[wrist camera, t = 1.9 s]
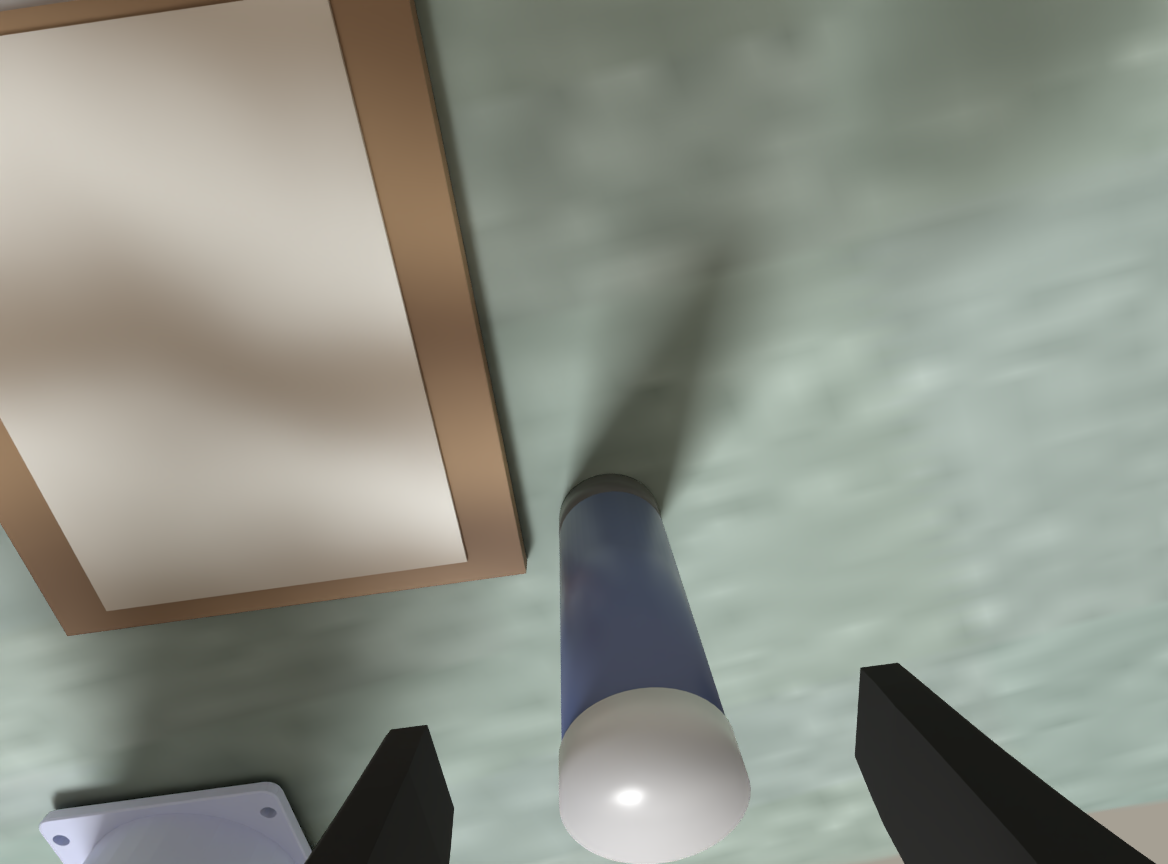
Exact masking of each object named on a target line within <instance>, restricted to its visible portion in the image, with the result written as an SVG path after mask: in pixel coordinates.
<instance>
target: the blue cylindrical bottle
mask: <svg viewBox="0 0 1168 864" xmlns="http://www.w3.org/2000/svg"><path fill="white" fill-rule="evenodd" d="M559 540H560V632H561V724H562V742H561V746H560V749H559V810H560V816H561V819H562V822H563V824H564V826H565V828H566V830H567V831H568V833H569V834H570V835H571V836H572V838H573V839H574V840H576V841H577V842H578V843H579V844H580V845H581V846H583V847H584V848H586V849H587V850H589V851H591V852H593V853H595V854H597V855H599V856H602V857H604V858H607V859H611V860H614V861H618V862H624V863H632V864H657V863H666V862H671V861H676V860H680V859H684V858H687V857H690V856H693V855H695V854H698V853H700V852H702V851H704V850H707V849H708V848H710V847H712V846H713V845H715V844H717V843H718V842H720V841H721V840H722V839H724V838H725V837H726V836H727V835H728V834H729V833H730V832H732V831H733V830H734V828H735V827H736V826H737V825H738V824H739V822H740V821H741V819H742V818H743V816H744V814H745V812H746V810H747V807H748V804H749V800H750V791H751V788H750V781H749V778H748V775H747V771H746V768H745V765H744V762H743V759H742V756H741V753H740V750H739V747H738V744H737V741H736V738H735V735H734V732H733V729H732V726H731V724H730V723H729V721H728V719H727V718H726V717H725V714H724V711H723V708H722V705H721V702H720V699H719V695H718V692H717V689H716V686H715V683H714V680H713V677H712V674H711V671H710V668H709V665H708V661H707V658H706V655H705V652H704V649H703V646H702V643H701V640H700V637H699V634H698V630H697V627H696V624H695V621H694V618H693V615H692V612H691V609H690V606H689V603H688V599H687V596H686V593H685V590H684V587H683V584H682V581H681V578H680V575H679V572H678V568H677V565H676V562H675V559H674V556H673V553H672V550H671V547H670V544H669V541H668V538H667V534H666V531H665V528H664V525H663V522H662V519H661V516H660V513H659V510H658V507H657V504H656V501H655V499H654V497H653V495H652V494H651V492H650V491H649V490H648V489H647V488H646V487H645V486H644V485H643V484H641V483H640V482H638V481H637V480H635V479H632V478H630V477H627V476H624V475H618V474H604V475H599V476H595V477H592V478H589V479H587V480H585V481H583V482H581V483H580V484H578V485H577V486H576V487H575V488H573V489H572V490H571V492H570V493H569V494H568V495H567V497H566V498H565V500H564V502H563V504H562V507H561V510H560V516H559Z"/></svg>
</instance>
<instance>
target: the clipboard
mask: <svg viewBox="0 0 1168 864" xmlns="http://www.w3.org/2000/svg"><path fill="white" fill-rule="evenodd" d="M0 523H1V525H2V527H3V528H4V530H5V532H6V533H7V535H8V537H9V538H10V540H11V542H12V543H13V545H14V547H15V549H16V550H17V552H18V554H19V555H20V557H21V559H22V560H23V562H24V564H25V565H26V567H27V569H28V570H29V572H30V574H31V575H32V577H33V579H34V581H35V582H36V584H37V586H38V587H39V589H40V591H41V592H42V594H43V596H44V597H45V599H46V601H47V602H48V604H49V606H50V607H51V609H52V611H53V613H54V614H55V616H56V618H57V619H58V621H59V623H60V624H61V626H62V628H63V629H64V631H65V633H66V634H67V636H72V635H79V634H86V633H94V632H101V631H108V630H116V629H123V628H130V627H137V626H145V625H152V624H159V623H167V622H174V621H181V620H189V619H196V618H203V617H210V616H218V615H225V614H232V613H240V612H247V611H254V610H262V609H269V608H276V607H284V606H291V605H298V604H305V603H313V602H320V601H327V600H335V599H342V598H349V597H357V596H364V595H371V594H378V593H386V592H393V591H400V590H408V589H415V588H422V587H430V586H437V585H444V584H451V583H459V582H466V581H473V580H481V579H488V578H495V577H503V576H510V575H517V574H525V573H526V568H527V558H526V553H525V548H524V543H523V538H522V533H521V528H520V523H519V518H518V513H517V508H516V503H515V498H514V493H513V488H512V483H511V478H510V474H509V469H508V464H507V459H506V454H505V449H504V444H503V439H502V434H501V429H500V424H499V419H498V414H497V409H496V404H495V399H494V394H493V389H492V384H491V379H490V374H489V369H488V364H487V359H486V354H485V349H484V344H483V339H482V335H481V330H480V325H479V320H478V315H477V310H476V305H475V300H474V295H473V290H472V285H471V280H470V275H469V270H468V265H467V260H466V255H465V250H464V245H463V240H462V235H461V230H460V225H459V220H458V215H457V210H456V205H455V200H454V195H453V191H452V186H451V181H450V176H449V171H448V166H447V161H446V156H445V151H444V146H443V141H442V136H441V131H440V126H439V121H438V116H437V111H436V106H435V101H434V96H433V91H432V86H431V81H430V76H429V71H428V66H427V61H426V56H425V52H424V47H423V42H422V37H421V32H420V27H419V22H418V17H417V12H416V7H415V2H414V0H0Z"/></svg>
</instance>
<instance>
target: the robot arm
mask: <svg viewBox="0 0 1168 864" xmlns="http://www.w3.org/2000/svg"><path fill="white" fill-rule="evenodd" d="M855 758H856V760H857V762H858V765H859V767H860V770H861V772H862V775H863V777H864V780H865V782H866V784H867V787H868V789H869V792H870V794H871V796H872V799H873V801H874V803H875V806H876V808H877V810H878V813H879V815H880V817H881V820H882V822H883V824H884V826H885V828H886V830H887V832H888V834H889V836H890V837H891V839H892V841H893V843H894V845H895V847H896V849H897V851H898V852H899V854H900V856H901V858H902V860H903V861H904V864H1155V863H1154V862H1153V861H1151V860H1149V859H1148V858H1147V857H1146V856H1144V855H1143V854H1141V853H1140V852H1138V851H1137V850H1135V849H1134V848H1133V847H1131V846H1130V845H1129V844H1127V843H1126V842H1124V841H1123V840H1122V839H1120V838H1119V837H1118V836H1116V835H1115V834H1113V833H1112V832H1111V831H1109V830H1108V829H1106V828H1105V827H1104V826H1102V825H1101V824H1100V823H1098V822H1097V821H1096V820H1094V819H1093V818H1092V817H1090V816H1089V815H1087V814H1086V813H1085V812H1083V811H1082V810H1081V809H1079V808H1078V807H1077V806H1075V805H1074V804H1073V803H1071V802H1070V801H1069V800H1067V799H1066V798H1065V797H1063V796H1062V795H1061V794H1060V793H1058V792H1057V791H1056V790H1054V789H1053V788H1052V787H1050V786H1049V785H1048V784H1047V783H1045V782H1044V781H1043V780H1041V779H1040V778H1039V777H1038V776H1036V775H1035V774H1034V773H1032V772H1031V771H1030V770H1029V769H1027V768H1026V767H1025V766H1024V765H1022V764H1021V763H1020V762H1018V761H1017V760H1016V759H1015V758H1013V757H1012V756H1011V755H1009V754H1008V753H1007V752H1006V751H1004V750H1003V749H1002V748H1001V747H999V746H998V745H997V744H996V743H994V742H993V741H992V740H991V739H990V738H988V737H987V736H986V735H985V734H983V733H982V732H981V731H980V730H978V729H977V728H976V727H975V726H974V725H972V724H971V723H970V722H969V721H968V720H966V719H965V718H964V717H963V716H961V715H960V714H959V713H958V712H957V711H955V710H954V709H953V708H952V707H951V706H949V705H948V704H947V703H946V702H945V701H943V700H942V699H941V698H940V697H939V696H937V695H936V694H935V693H934V692H933V691H931V690H930V689H929V688H928V687H927V686H925V685H924V684H923V683H922V682H921V681H919V680H918V679H917V678H916V677H915V676H913V675H912V674H911V673H910V672H909V671H907V670H906V669H905V668H904V667H902V666H901V665H900V664H899V663H893V664H885V665H878V666H870V667H862V668H861V669H860V684H859V700H858V715H857V730H856V746H855ZM453 814H454V806H453V803H452V800H451V797H450V794H449V791H448V788H447V785H446V782H445V778H444V775H443V772H442V769H441V766H440V763H439V760H438V757H437V754H436V751H435V747H434V744H433V741H432V738H431V735H430V732H429V729H428V726H427V725H422V726H415V727H407V728H399V729H392V730H390V732H389V733H388V734H387V735H386V737H385V738H384V740H383V741H382V743H381V745H380V746H379V748H378V749H377V751H376V753H375V754H374V756H373V758H372V759H371V761H370V762H369V764H368V766H367V767H366V769H365V770H364V772H363V774H362V775H361V777H360V778H359V780H358V782H357V783H356V785H355V786H354V788H353V790H352V791H351V793H350V794H349V796H348V797H347V799H346V801H345V802H344V804H343V805H342V807H341V808H340V810H339V812H338V813H337V815H336V816H335V818H334V819H333V821H332V822H331V824H330V825H329V827H328V828H327V830H326V831H325V833H324V834H323V836H322V838H321V839H320V841H319V842H318V844H317V845H316V847H315V848H314V850H313V851H312V850H311V848H310V846H309V844H308V842H307V840H306V838H305V836H304V834H303V832H302V830H301V827H300V825H299V823H298V821H297V819H296V817H295V815H294V813H293V811H292V809H291V806H290V804H289V802H288V800H287V798H286V796H285V794H284V792H283V790H282V789H281V787H280V786H279V785H277V784H275V783H272V782H259V783H252V784H244V785H237V786H230V787H222V788H215V789H207V790H200V791H192V792H185V793H177V794H170V795H162V796H155V797H148V798H140V799H133V800H125V801H118V802H110V803H103V804H95V805H88V806H81V807H73V808H66V809H58V810H54V811H51V812H49V813H48V814H47V815H46V816H45V817H44V819H43V820H42V821H41V822H40V824H39V830H40V832H41V833H42V835H43V836H44V838H45V839H46V840H47V842H48V843H49V844H50V846H51V847H52V848H53V850H54V851H55V853H56V854H57V855H58V857H59V858H60V859H61V861H62V862H63V863H64V864H449V860H450V850H451V838H452V826H453Z"/></svg>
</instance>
